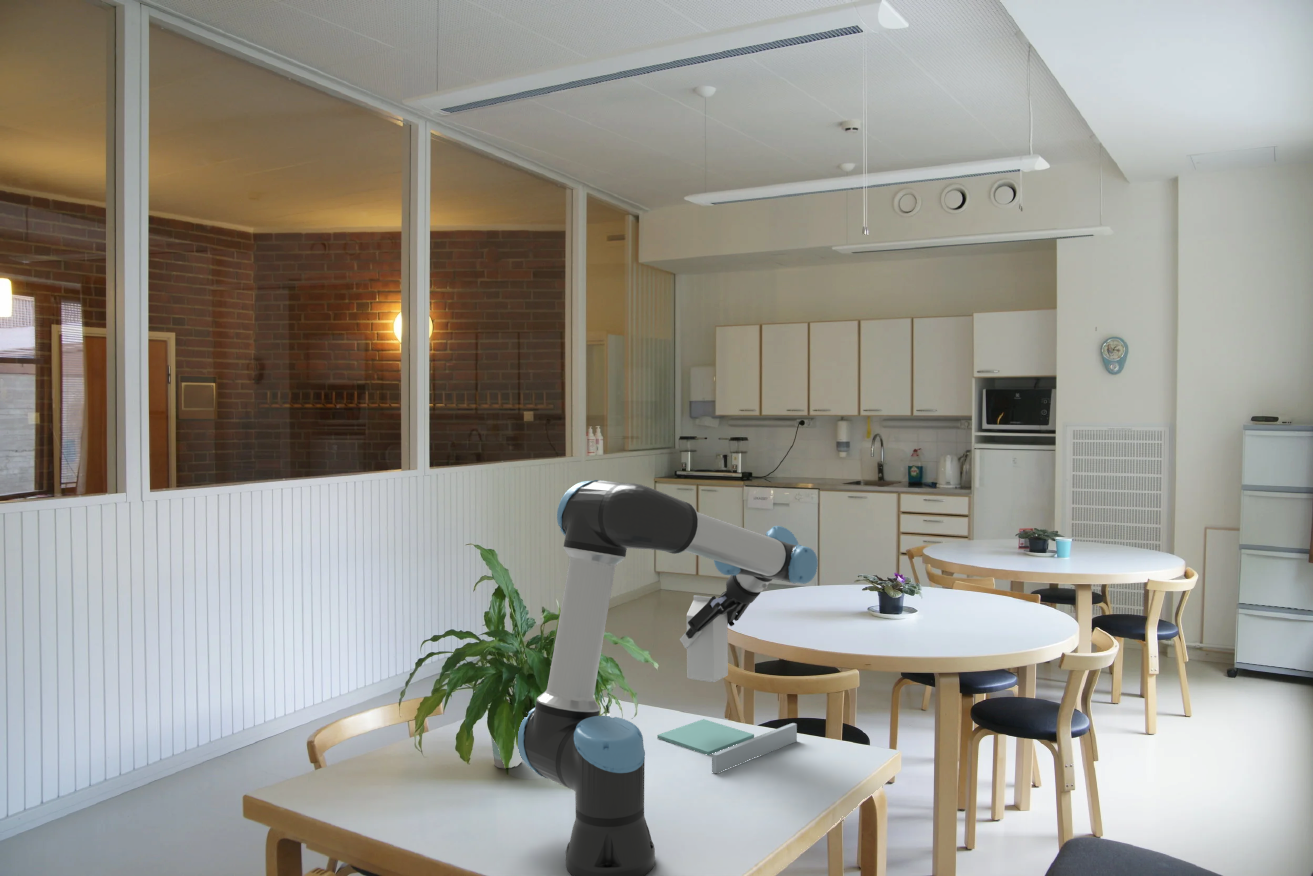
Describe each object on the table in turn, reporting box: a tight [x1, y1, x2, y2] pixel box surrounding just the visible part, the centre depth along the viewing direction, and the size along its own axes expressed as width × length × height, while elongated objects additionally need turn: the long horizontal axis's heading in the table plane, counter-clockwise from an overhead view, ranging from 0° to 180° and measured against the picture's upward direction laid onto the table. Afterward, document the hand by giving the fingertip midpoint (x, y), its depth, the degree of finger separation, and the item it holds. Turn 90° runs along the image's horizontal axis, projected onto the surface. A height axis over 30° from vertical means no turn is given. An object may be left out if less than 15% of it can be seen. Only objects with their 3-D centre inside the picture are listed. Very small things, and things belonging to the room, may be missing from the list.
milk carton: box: [686, 595, 729, 683], centre depth 222 cm, size 7×7×19 cm
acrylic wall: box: [711, 722, 798, 774], centre depth 210 cm, size 28×1×4 cm, turn 135°
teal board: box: [657, 718, 755, 756], centre depth 222 cm, size 16×16×1 cm
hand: (696, 640), depth 224 cm, fingers closed on milk carton, 8 cm apart
